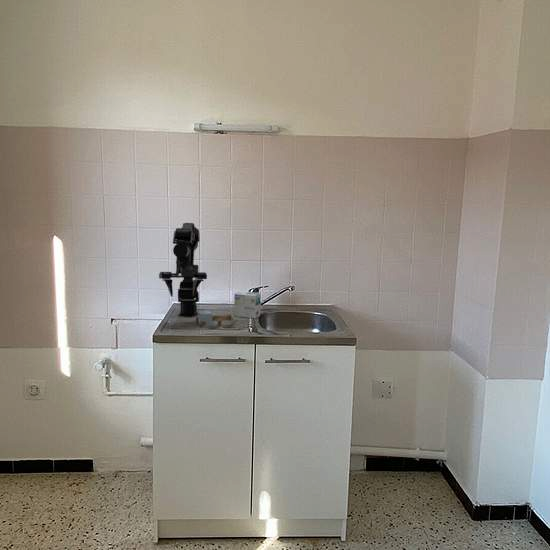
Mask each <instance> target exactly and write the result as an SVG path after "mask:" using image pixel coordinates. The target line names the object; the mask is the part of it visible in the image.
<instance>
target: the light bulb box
mask: <svg viewBox="0 0 550 550" xmlns="http://www.w3.org/2000/svg"><path fill="white" fill-rule="evenodd" d="M261 294H262V293H261V292H253V291H241V290H240V291H237V292H235V293H234V299H233V301H234V303H233V304H234V307H233V309H234V311H233V312H234V315H233V316H234V317H239V318H240V317H241V318H247V319H257V318H258V317H261V314H262V313H261V309H262V307H261V304H262V303H261V301H262V300H261V299H262V298H261V297H262V295H261ZM250 317H252V318H250Z"/></svg>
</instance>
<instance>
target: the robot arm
mask: <svg viewBox="0 0 550 550" xmlns="http://www.w3.org/2000/svg"><path fill="white" fill-rule="evenodd" d="M200 237H201V235H200V230H199V229H198V228H197V227H196V225H195V223H194V222H184V223H182V226H181V227H180V228H179V227H177V228H176V229H175V230H174V232H173V237H172V244H173V245H174V246H173V248H172V253H173V255H174V256H175V257H176V261H175V264H176V266H175V267H176V268H175V269H176V270H175V272H174V273H173V271H160V272H159V274H158V279H161V281H163V282H165V285H166V286H167V289H168V292H169V295H170V297H172V298H173V296H174V293H173V279H172V278H176V279H177V278H178V279H180V278H181V279H182V278H183V280H182V281H180V282H179V286H178V287H179V288H178V289H177V303H180V304H179V305H180V308H179V309H180V313H178V316H182V317H189V318H190V317H193V316H195V315H198V310H197V309H198V308H197V307H198V305H197V303H198V302H200V295H199V294H200V293H199V291H198V288H199V286H200V284H201V282H204V280H207V279H208V275H207V272H199V264H195V263H194V262H195V251H196V250H197V249H198V246H199V242H200Z"/></svg>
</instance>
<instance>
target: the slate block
mask: <svg viewBox="0 0 550 550" xmlns="http://www.w3.org/2000/svg"><path fill="white" fill-rule="evenodd" d="M197 313H198V314H197V315H198V316H197V317H198V322H197V323H198V324H199V325H200V322H206V326H213V321H212V316H213V313H212V312H211V311H210V310H204V311H203V310H201V311H198V310H197Z"/></svg>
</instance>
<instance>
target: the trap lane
mask: <svg viewBox="0 0 550 550" xmlns="http://www.w3.org/2000/svg"><path fill="white" fill-rule="evenodd" d="M213 320H216V321H217V325H206V322H200V324H199V327H200V328H204V327H203V326H206V327H205V328H206V329H207V330H216V329H215V328H219V329H221V327H222V328H224V329H231V328H232V327H233V328H235V325H238V319H237V318H236V316H234V315H233V314H222V315H219V314H218V315H212V322H214V321H213ZM226 320H227V321H230V320H231V322H230V323H231V324H222V321H226ZM195 322H196V323H198V316H195ZM220 326H221V327H220Z"/></svg>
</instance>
